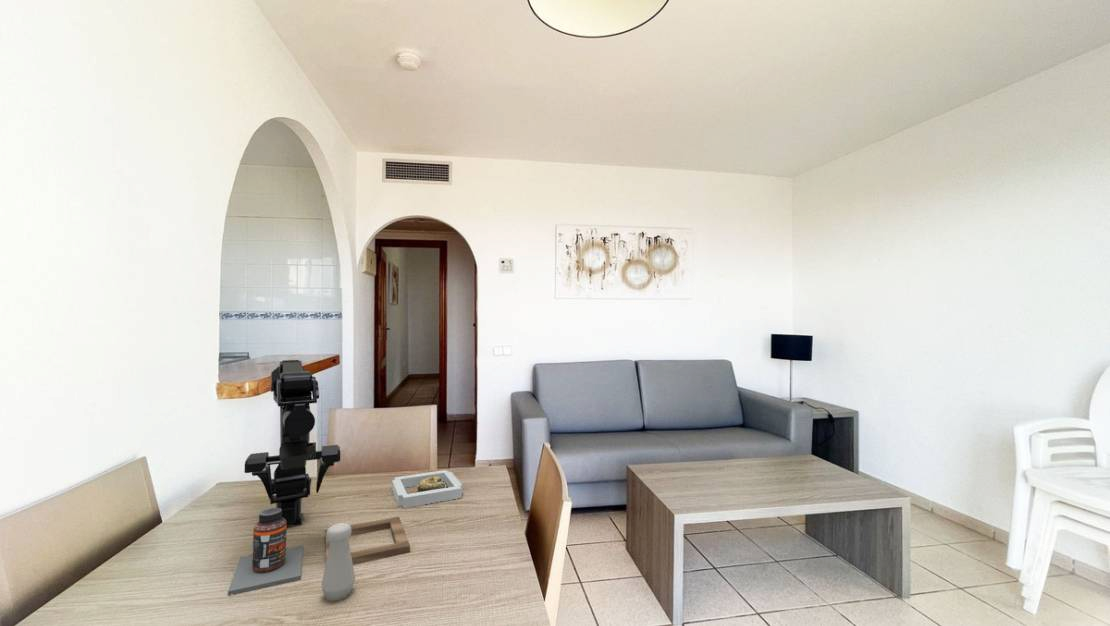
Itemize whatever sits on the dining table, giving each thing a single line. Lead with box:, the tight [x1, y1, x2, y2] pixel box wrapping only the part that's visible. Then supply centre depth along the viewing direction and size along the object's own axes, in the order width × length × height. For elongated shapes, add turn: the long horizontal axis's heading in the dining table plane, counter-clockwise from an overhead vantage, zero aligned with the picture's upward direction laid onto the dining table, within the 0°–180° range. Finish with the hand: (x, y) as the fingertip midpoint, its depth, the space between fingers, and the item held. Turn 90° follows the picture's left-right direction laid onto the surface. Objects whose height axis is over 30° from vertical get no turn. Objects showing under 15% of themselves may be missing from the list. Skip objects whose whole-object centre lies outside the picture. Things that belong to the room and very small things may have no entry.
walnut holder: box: [325, 516, 411, 565], centre depth 106 cm, size 17×17×2 cm
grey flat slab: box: [227, 544, 304, 596], centre depth 95 cm, size 14×12×1 cm
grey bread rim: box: [391, 469, 464, 510], centre depth 138 cm, size 18×18×3 cm
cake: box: [416, 475, 447, 493], centre depth 139 cm, size 10×10×5 cm
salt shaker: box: [321, 522, 356, 602], centre depth 86 cm, size 6×6×13 cm
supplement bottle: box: [252, 507, 288, 572], centre depth 95 cm, size 6×6×11 cm
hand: (294, 495), depth 104 cm, fingers open, 9 cm apart
